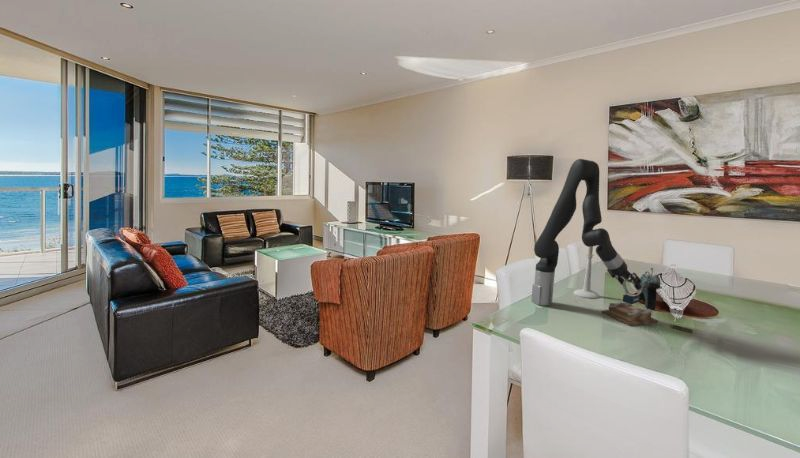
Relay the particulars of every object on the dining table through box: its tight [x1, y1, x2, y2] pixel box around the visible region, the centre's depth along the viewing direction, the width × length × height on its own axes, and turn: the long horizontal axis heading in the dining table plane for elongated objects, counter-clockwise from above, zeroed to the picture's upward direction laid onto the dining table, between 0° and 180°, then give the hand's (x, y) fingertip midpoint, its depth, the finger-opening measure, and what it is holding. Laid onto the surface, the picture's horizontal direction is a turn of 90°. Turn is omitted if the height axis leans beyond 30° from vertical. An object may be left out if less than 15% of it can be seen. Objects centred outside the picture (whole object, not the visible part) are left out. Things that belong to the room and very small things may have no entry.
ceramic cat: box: [638, 267, 661, 311], centre depth 194 cm, size 20×6×20 cm, turn 161°
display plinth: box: [600, 301, 659, 327], centre depth 176 cm, size 16×16×6 cm
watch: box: [621, 278, 643, 305], centre depth 174 cm, size 6×8×11 cm
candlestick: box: [573, 246, 600, 300], centre depth 207 cm, size 13×13×30 cm
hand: (631, 285), depth 174 cm, fingers closed on watch, 8 cm apart
